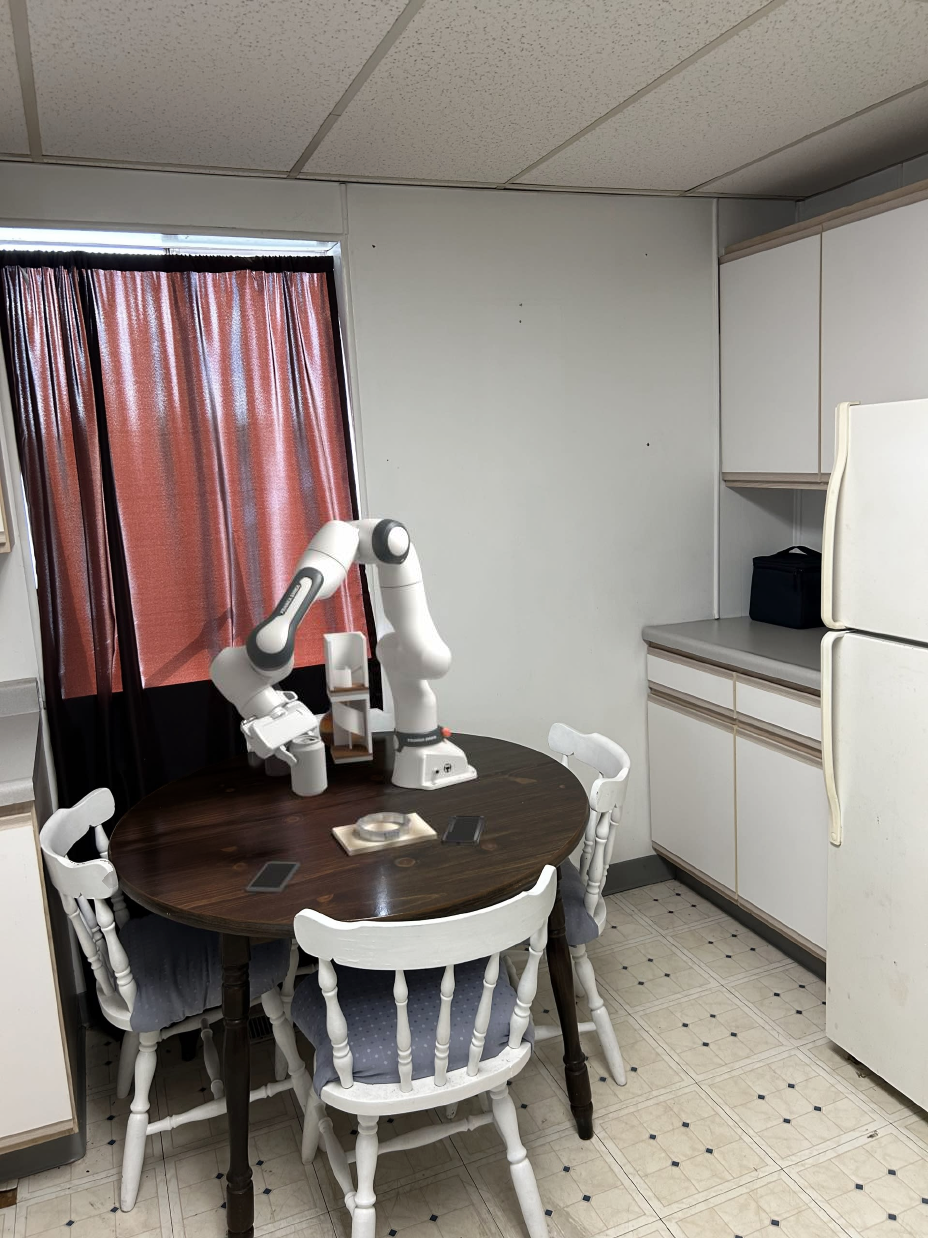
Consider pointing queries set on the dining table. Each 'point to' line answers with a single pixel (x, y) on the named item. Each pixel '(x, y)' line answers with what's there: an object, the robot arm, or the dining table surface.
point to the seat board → (359, 846)
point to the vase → (327, 727)
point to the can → (308, 765)
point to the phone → (464, 830)
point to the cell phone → (273, 877)
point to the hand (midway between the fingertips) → (306, 757)
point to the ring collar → (383, 835)
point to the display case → (348, 696)
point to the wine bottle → (274, 763)
